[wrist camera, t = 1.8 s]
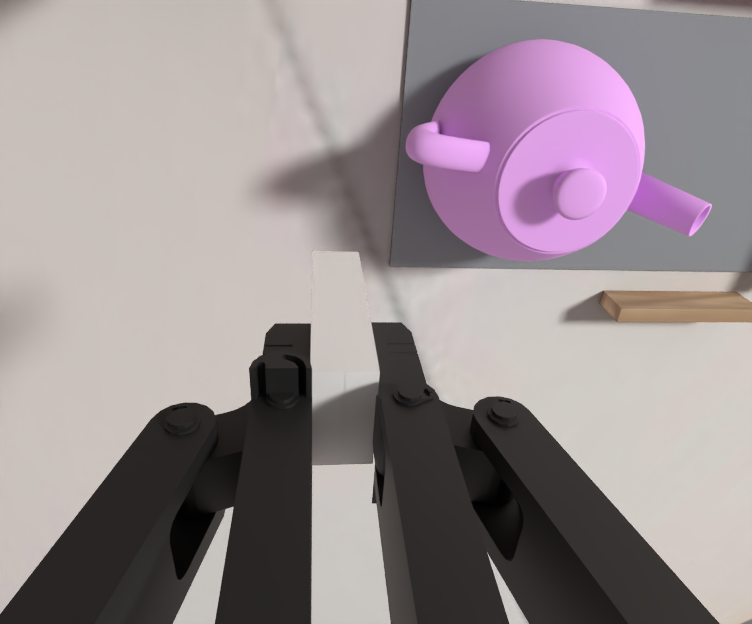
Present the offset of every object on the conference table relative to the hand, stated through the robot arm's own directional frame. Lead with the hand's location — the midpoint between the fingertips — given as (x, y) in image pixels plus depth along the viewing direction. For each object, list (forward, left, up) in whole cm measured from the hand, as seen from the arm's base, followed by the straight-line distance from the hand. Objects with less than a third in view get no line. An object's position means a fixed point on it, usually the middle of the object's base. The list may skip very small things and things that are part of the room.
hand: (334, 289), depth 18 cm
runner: (0, +22, -21) cm, 31 cm away
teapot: (0, +14, -21) cm, 25 cm away
